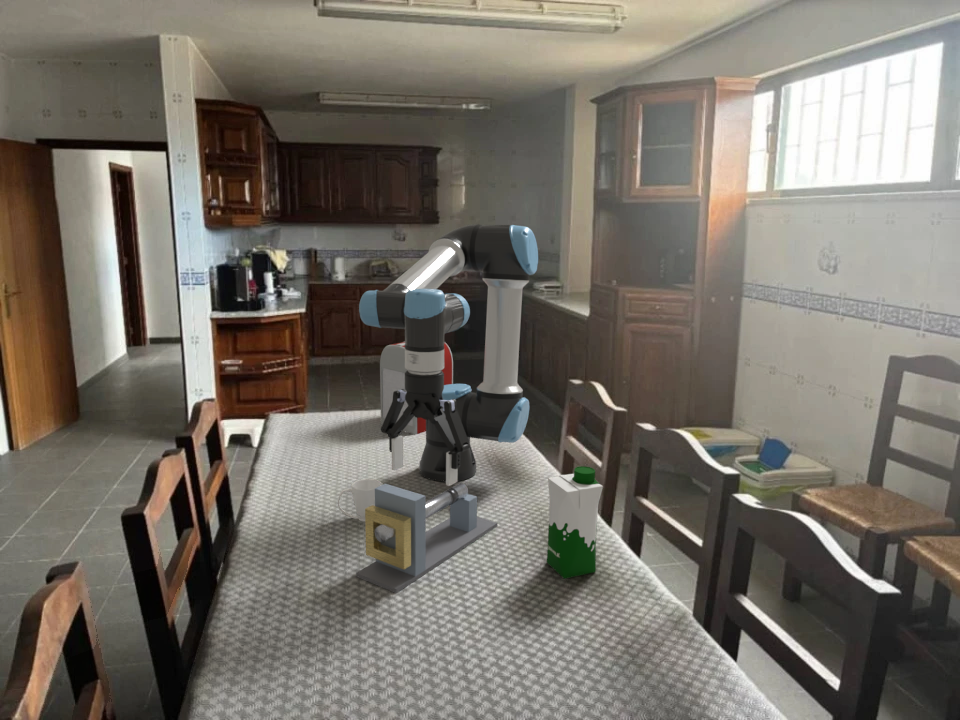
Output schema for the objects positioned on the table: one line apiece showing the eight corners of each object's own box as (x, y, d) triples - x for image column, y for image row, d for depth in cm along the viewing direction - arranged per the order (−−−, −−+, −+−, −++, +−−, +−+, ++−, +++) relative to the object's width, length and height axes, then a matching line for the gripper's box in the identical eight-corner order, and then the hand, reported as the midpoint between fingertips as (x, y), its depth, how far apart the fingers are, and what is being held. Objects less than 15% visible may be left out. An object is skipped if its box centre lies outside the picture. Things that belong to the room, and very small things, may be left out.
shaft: (456, 494, 153) (456, 481, 152) (468, 498, 151) (468, 484, 150) (374, 539, 132) (374, 524, 131) (387, 544, 130) (386, 529, 129)
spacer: (373, 550, 137) (372, 505, 135) (411, 565, 132) (410, 517, 130) (365, 554, 135) (365, 508, 133) (404, 569, 130) (403, 521, 128)
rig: (460, 514, 162) (461, 448, 158) (497, 526, 156) (499, 457, 153) (356, 576, 134) (354, 497, 131) (396, 593, 129) (395, 511, 125)
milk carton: (602, 573, 137) (608, 476, 133) (561, 582, 133) (566, 483, 129) (578, 553, 145) (583, 460, 140) (539, 561, 141) (543, 466, 137)
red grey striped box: (379, 423, 227) (377, 341, 222) (418, 412, 241) (418, 334, 235) (415, 435, 217) (415, 348, 211) (454, 422, 230) (454, 341, 224)
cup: (384, 523, 157) (383, 489, 155) (338, 526, 155) (337, 491, 153) (382, 510, 163) (381, 477, 162) (338, 513, 162) (337, 479, 160)
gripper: (362, 365, 139) (363, 467, 143) (466, 384, 125) (464, 496, 129) (388, 359, 145) (388, 457, 149) (489, 376, 131) (487, 484, 136)
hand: (423, 475), depth 139 cm, fingers open, 13 cm apart
